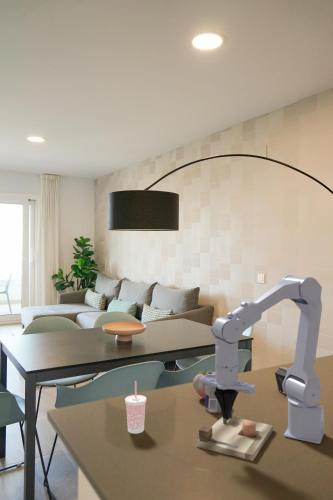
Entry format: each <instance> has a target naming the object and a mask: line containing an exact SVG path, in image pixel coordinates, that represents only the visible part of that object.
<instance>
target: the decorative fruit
mask: <svg viewBox="0 0 333 500" xmlns="http://www.w3.org/2000/svg"><path fill="white" fill-rule="evenodd" d="M206 372H207V371H199V372H198V374H196V375H195V377H193V380H192V386H193V389H194V390H195V392H196V393H197V395H198V396H199V397H201V398H202V399H204V400H205V386H200V382H199V379H200V378H202V377H205V375H206Z"/></svg>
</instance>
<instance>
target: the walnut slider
mask: <svg viewBox="0 0 333 500" xmlns="http://www.w3.org/2000/svg"><path fill="white" fill-rule="evenodd" d="M211 438H212V426H208V425H202V426H201V427H200V429H198V439H200V440H204V441H209V440H210V439H211Z"/></svg>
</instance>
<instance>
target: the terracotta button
mask: <svg viewBox="0 0 333 500" xmlns="http://www.w3.org/2000/svg"><path fill="white" fill-rule="evenodd" d="M252 421H253V420H249V421H244V422H242V435H241V436H245V437H249V438H254V437H255V438H256V437H257V436H256V423H254V422H255V421H254V422H252Z"/></svg>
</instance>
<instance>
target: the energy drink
mask: <svg viewBox="0 0 333 500" xmlns="http://www.w3.org/2000/svg"><path fill="white" fill-rule="evenodd" d="M205 372H206V375H205V377H209V378H216V370H206V371H205ZM215 391H216V388H214V387H208V386H205V399H204V400H205V401H204V403H205V404H204V405H205V407H204V408H205V411H206V412H207V413H210V414H219V413H222V411H221V408H220V405H219V402H218V400H217V398H216V397H215V395H214V392H215Z"/></svg>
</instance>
